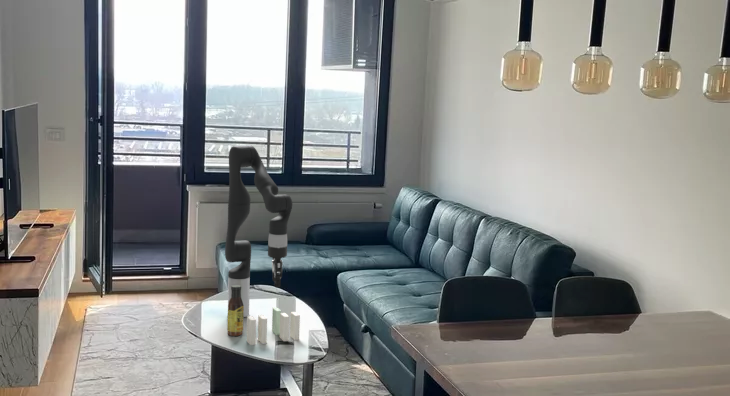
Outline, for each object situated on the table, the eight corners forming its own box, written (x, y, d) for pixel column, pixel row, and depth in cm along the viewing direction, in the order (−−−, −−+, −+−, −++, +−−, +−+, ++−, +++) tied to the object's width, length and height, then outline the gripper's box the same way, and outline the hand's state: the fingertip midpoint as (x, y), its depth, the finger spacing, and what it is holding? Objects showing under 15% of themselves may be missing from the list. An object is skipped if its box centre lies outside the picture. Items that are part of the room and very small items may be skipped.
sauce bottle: (239, 337, 275) (240, 288, 272) (224, 335, 276) (225, 287, 274) (245, 332, 281) (246, 284, 279) (231, 330, 283) (231, 283, 280)
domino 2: (257, 339, 273) (258, 315, 272) (262, 339, 274) (263, 314, 273) (261, 344, 269) (262, 319, 267) (266, 343, 270) (267, 318, 268)
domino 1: (246, 341, 271) (247, 316, 270) (251, 340, 272) (252, 316, 271) (250, 345, 267) (250, 320, 265) (255, 344, 268) (255, 319, 266)
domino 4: (279, 337, 277) (280, 313, 276) (284, 336, 278) (284, 312, 277) (283, 341, 273) (284, 316, 271) (288, 340, 273) (289, 316, 272)
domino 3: (272, 331, 284) (272, 307, 283) (276, 330, 285) (277, 307, 284) (275, 335, 279) (276, 311, 278) (280, 334, 280) (281, 310, 279)
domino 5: (290, 336, 279) (290, 312, 278) (294, 335, 280) (295, 311, 279) (294, 340, 275) (295, 315, 273) (299, 339, 275) (299, 315, 274)
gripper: (266, 240, 280) (265, 279, 282) (269, 248, 266) (268, 289, 268) (285, 240, 281) (284, 279, 284) (289, 248, 268) (287, 289, 270)
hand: (276, 284), depth 276 cm, fingers open, 8 cm apart
